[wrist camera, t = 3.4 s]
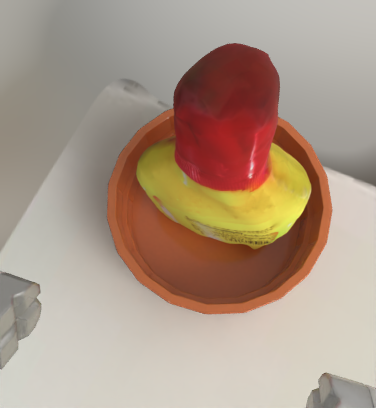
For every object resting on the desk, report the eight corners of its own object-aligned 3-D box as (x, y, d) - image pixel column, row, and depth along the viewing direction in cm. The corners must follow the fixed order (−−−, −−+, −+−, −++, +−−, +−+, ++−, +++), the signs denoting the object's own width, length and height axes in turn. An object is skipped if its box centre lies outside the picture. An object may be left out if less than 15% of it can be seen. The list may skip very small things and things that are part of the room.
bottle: (142, 227, 31) (49, 101, 11) (163, 164, 32) (113, -38, 13) (271, 264, 29) (412, 192, 10) (286, 197, 31) (431, 26, 12)
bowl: (95, 279, 30) (74, 274, 25) (154, 113, 35) (146, 80, 29) (288, 337, 28) (308, 345, 23) (323, 154, 33) (347, 126, 28)
